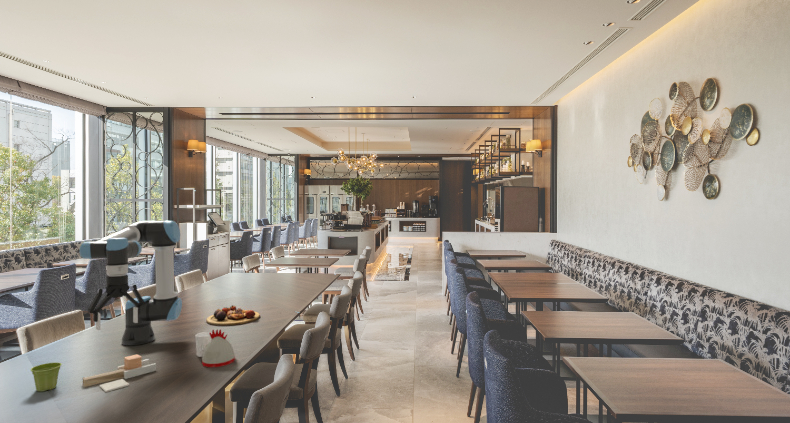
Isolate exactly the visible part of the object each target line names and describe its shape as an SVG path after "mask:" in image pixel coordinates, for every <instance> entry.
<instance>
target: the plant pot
mask: <svg viewBox="0 0 790 423" xmlns="http://www.w3.org/2000/svg"><path fill="white" fill-rule="evenodd" d="M62 364H63V363H61V362H58V361H57V362H47V363H43V364H38V365H35V366H32V367H31V368H30V372H31V373H32V375H33V379H34V385H35V389H36V390H35V391H36V392H46V391H48V390H54V389H55V388H56V387H57V385H58V384H57V383H58V379H59V373H60V370H61V367H62Z"/></svg>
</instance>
